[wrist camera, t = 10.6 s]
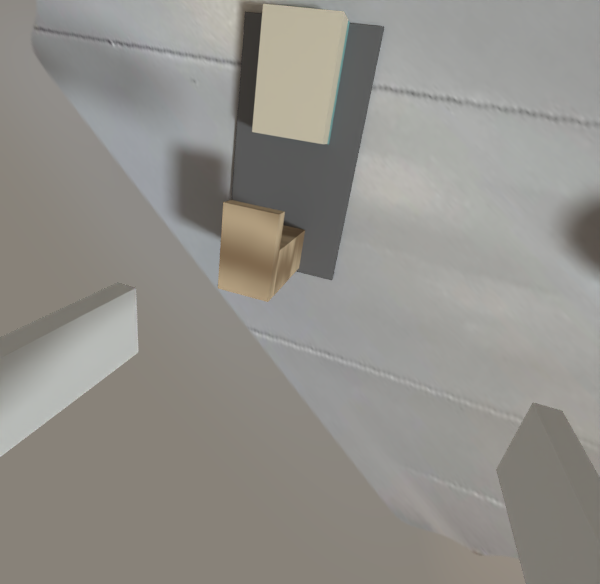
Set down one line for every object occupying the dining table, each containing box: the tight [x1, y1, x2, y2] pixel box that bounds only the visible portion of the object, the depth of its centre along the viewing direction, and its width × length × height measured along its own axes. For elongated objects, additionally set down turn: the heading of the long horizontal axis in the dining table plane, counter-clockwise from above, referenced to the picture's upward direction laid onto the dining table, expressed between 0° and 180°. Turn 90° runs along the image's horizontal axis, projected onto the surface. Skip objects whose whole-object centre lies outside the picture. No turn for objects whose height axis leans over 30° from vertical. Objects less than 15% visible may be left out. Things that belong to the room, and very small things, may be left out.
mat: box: [232, 12, 384, 280], centre depth 38 cm, size 24×13×1 cm, turn 171°
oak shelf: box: [218, 200, 305, 302], centre depth 36 cm, size 8×5×10 cm, turn 171°
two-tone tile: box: [252, 4, 350, 144], centre depth 33 cm, size 10×7×3 cm
